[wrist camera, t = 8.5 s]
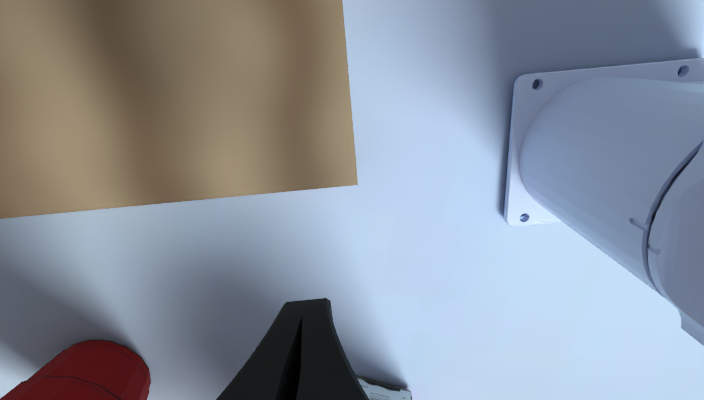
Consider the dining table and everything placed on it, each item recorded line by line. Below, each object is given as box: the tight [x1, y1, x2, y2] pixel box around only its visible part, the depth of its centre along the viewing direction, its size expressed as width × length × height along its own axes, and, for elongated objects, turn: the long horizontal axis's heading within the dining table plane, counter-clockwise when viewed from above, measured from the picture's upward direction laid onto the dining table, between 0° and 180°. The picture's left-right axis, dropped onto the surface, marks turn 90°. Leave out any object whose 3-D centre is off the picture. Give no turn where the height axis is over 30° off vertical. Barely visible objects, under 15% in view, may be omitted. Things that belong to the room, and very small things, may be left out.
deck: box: [0, 0, 358, 219], centre depth 16 cm, size 24×10×2 cm, turn 95°
